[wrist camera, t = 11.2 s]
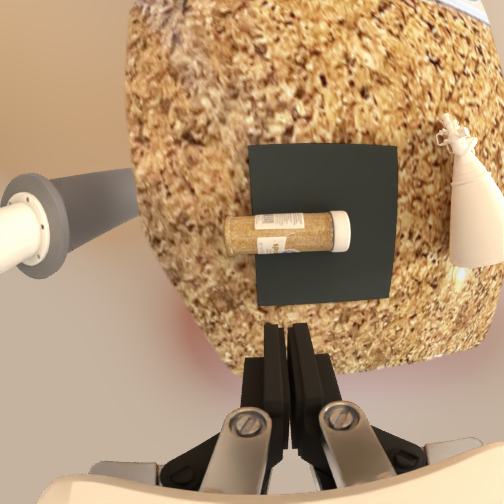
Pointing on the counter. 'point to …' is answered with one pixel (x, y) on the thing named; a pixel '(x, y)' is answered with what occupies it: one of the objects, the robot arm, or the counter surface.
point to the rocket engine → (472, 204)
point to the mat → (325, 200)
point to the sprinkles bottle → (287, 233)
